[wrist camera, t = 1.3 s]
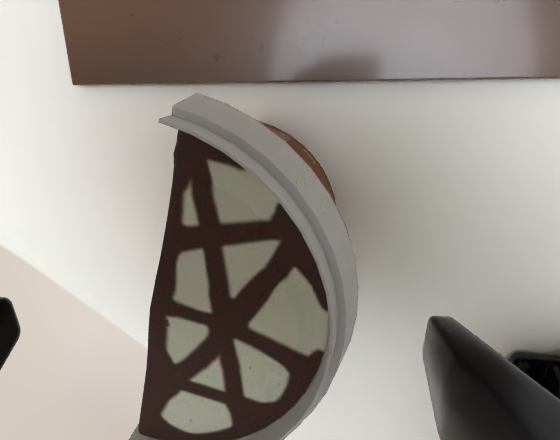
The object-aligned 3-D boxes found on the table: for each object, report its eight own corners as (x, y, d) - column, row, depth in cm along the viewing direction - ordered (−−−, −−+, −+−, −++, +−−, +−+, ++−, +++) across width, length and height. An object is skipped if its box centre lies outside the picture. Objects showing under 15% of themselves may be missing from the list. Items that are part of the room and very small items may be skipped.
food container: (323, 344, 22) (292, 533, 13) (218, 310, 23) (117, 467, 14) (396, 122, 18) (430, 166, 8) (264, 88, 18) (160, 95, 9)
